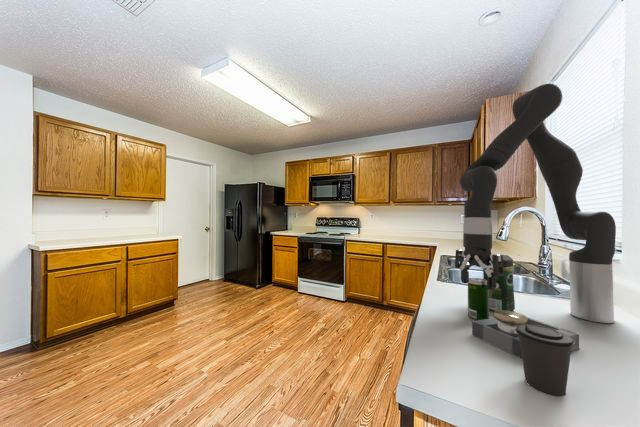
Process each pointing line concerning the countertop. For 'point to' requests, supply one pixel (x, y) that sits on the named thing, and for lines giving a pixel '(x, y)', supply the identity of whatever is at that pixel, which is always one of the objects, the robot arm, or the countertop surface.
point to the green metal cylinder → (478, 299)
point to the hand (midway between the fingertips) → (477, 286)
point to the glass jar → (509, 321)
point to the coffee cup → (545, 358)
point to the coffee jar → (503, 288)
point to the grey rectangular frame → (508, 343)
